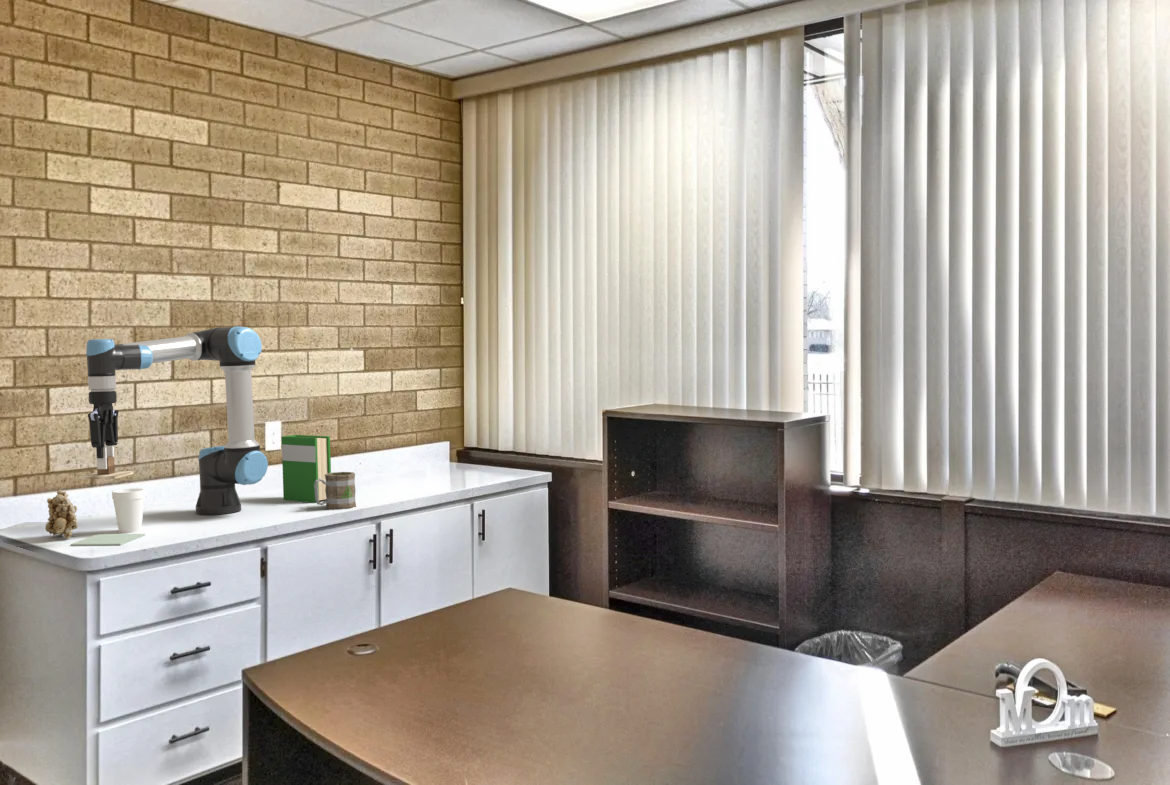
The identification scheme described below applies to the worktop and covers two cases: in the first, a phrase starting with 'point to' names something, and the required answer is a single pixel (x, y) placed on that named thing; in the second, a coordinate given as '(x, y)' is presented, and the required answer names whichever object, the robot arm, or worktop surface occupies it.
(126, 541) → the mat
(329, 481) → the mug
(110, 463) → the lid
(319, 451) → the hardback book
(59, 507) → the mineral formation
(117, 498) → the foam cup
